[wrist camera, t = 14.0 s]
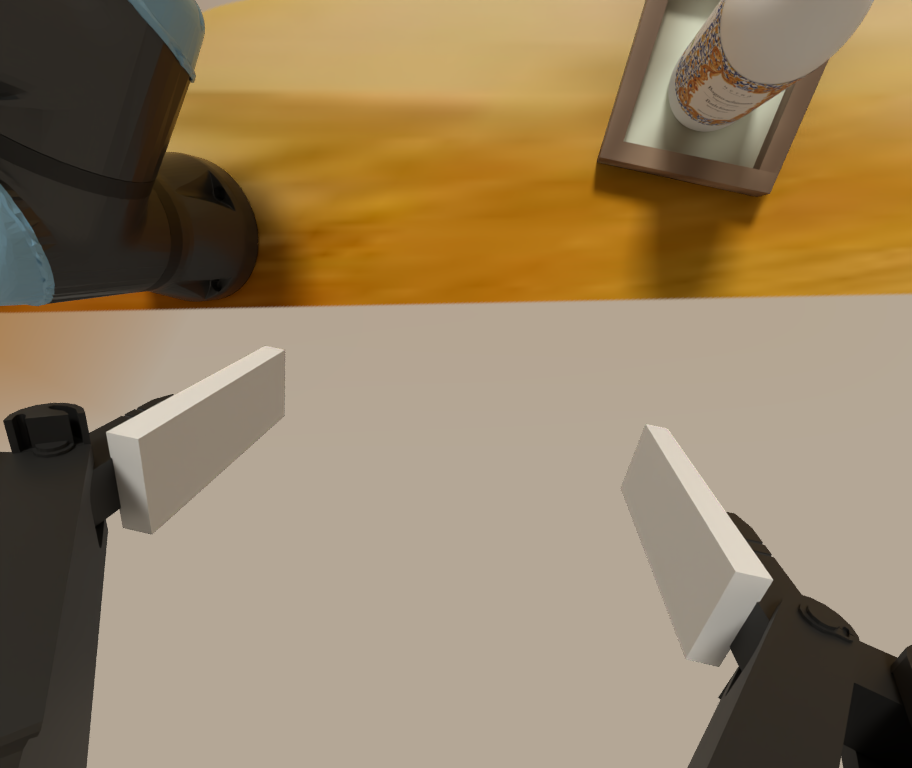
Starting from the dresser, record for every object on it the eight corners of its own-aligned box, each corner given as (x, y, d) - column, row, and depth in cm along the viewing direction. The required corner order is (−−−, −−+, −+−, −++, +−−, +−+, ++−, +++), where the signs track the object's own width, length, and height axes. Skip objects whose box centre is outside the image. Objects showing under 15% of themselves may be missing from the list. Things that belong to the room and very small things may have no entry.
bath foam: (649, 115, 36) (763, -26, 18) (696, 20, 34) (886, -262, 15) (727, 146, 36) (929, 36, 17) (779, 53, 33) (1080, -195, 15)
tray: (596, 161, 39) (599, 157, 37) (654, -31, 34) (662, -50, 32) (756, 196, 37) (769, 193, 35) (841, 0, 32) (862, -18, 30)
